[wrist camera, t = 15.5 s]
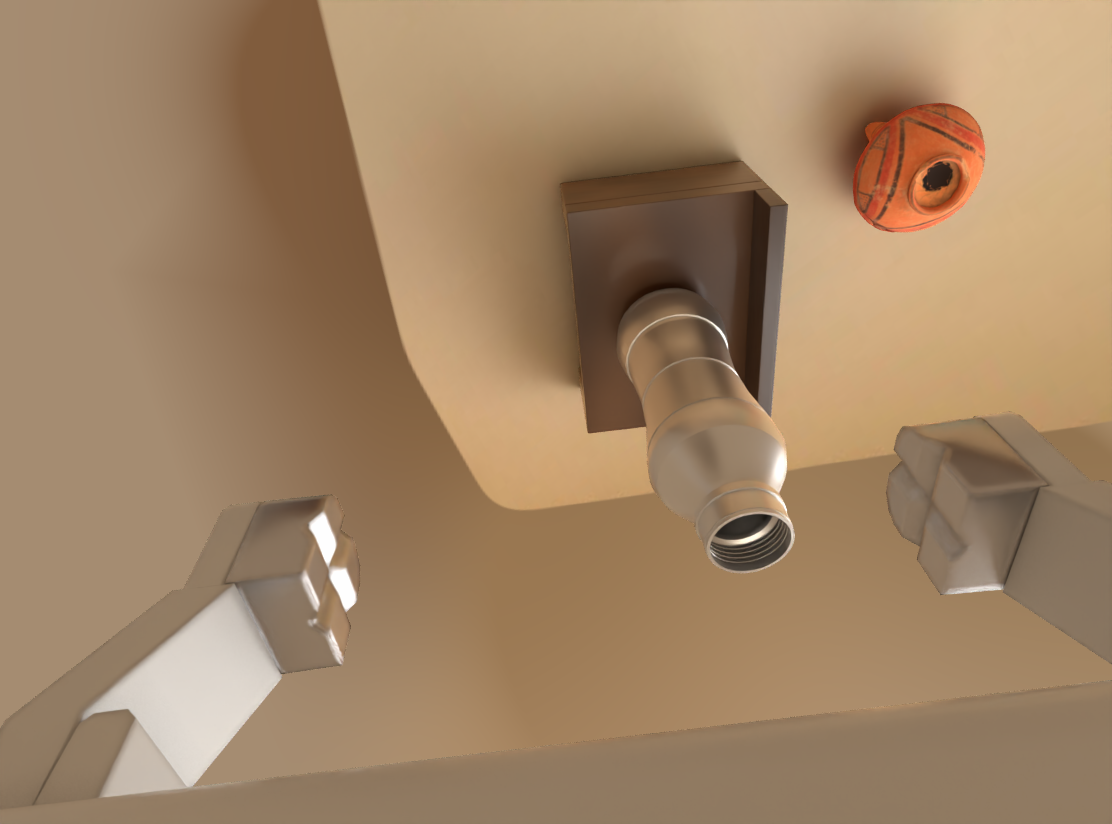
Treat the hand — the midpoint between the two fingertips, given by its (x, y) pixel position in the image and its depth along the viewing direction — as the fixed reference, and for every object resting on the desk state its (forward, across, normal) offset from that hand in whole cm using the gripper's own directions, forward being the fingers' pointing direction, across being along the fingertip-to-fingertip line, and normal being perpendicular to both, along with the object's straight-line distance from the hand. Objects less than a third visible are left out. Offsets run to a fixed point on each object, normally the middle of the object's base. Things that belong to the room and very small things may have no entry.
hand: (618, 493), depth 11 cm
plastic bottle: (+33, -6, +15) cm, 37 cm away
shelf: (+39, -7, +15) cm, 42 cm away
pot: (+39, -23, +8) cm, 46 cm away
